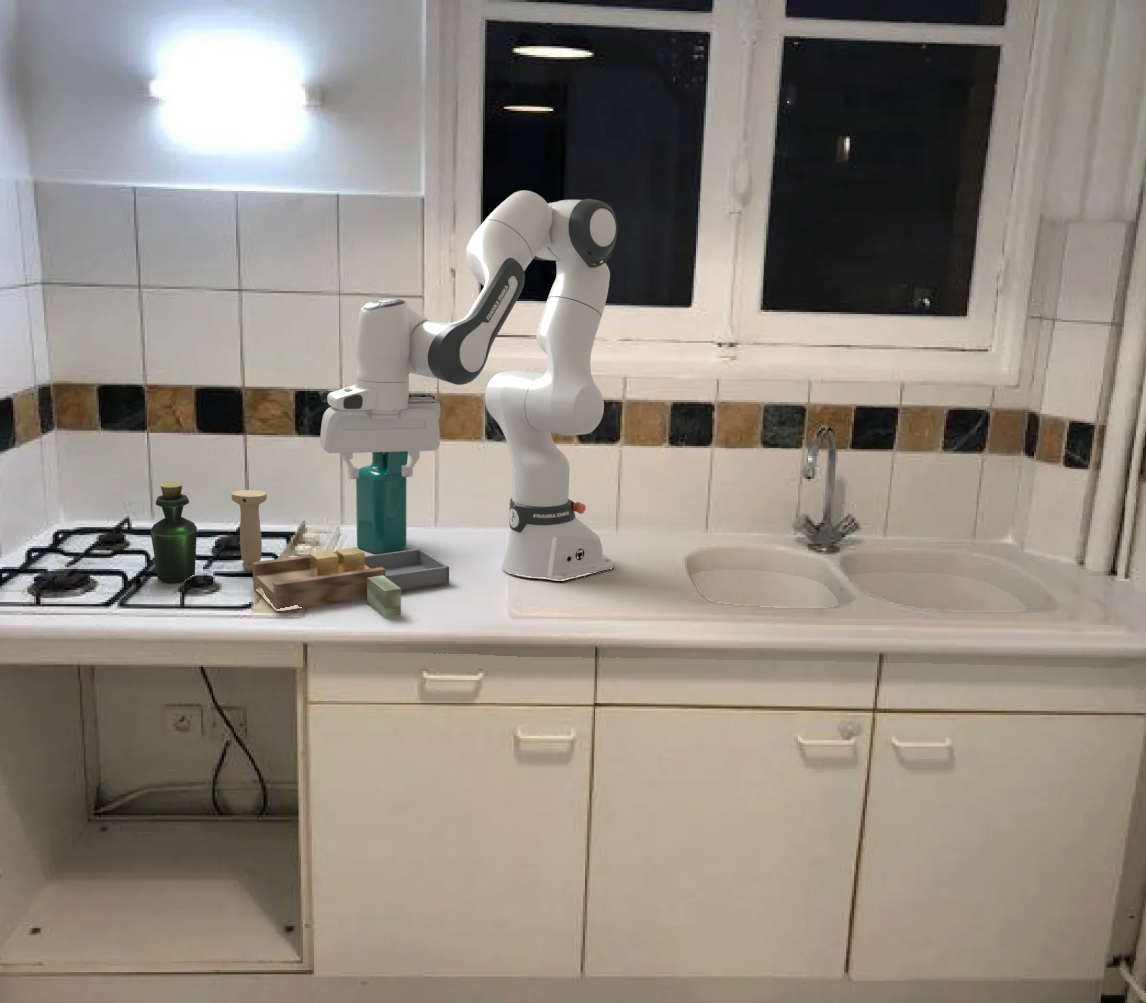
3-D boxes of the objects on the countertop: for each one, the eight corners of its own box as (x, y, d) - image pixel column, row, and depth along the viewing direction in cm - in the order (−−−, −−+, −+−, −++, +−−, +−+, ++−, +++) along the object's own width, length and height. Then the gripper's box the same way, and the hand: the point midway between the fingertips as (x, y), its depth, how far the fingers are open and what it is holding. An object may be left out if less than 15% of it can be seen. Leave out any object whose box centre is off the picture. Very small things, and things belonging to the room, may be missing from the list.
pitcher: (352, 546, 226) (351, 443, 221) (384, 539, 233) (383, 438, 227) (383, 557, 220) (382, 450, 215) (415, 549, 226) (415, 445, 221)
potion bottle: (159, 571, 206) (154, 479, 202) (204, 571, 207) (199, 479, 203) (148, 585, 199) (141, 490, 194) (194, 585, 199) (189, 490, 195)
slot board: (357, 573, 210) (357, 548, 208) (385, 595, 198) (385, 569, 197) (253, 588, 199) (252, 562, 198) (276, 612, 188) (276, 584, 187)
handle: (263, 573, 208) (260, 497, 204) (230, 571, 208) (227, 495, 204) (272, 565, 212) (270, 491, 208) (240, 563, 213) (237, 489, 209)
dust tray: (420, 565, 216) (420, 548, 215) (449, 584, 205) (449, 567, 204) (358, 574, 209) (358, 557, 208) (384, 594, 199) (384, 576, 198)
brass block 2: (356, 567, 204) (356, 547, 203) (364, 573, 200) (364, 552, 199) (336, 570, 202) (335, 549, 201) (343, 576, 198) (343, 555, 197)
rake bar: (383, 601, 195) (383, 575, 194) (400, 615, 189) (400, 588, 188) (367, 604, 194) (367, 577, 193) (384, 618, 187) (384, 591, 186)
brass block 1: (331, 571, 201) (330, 550, 200) (338, 577, 198) (338, 556, 197) (310, 573, 199) (309, 553, 198) (317, 580, 196) (316, 559, 195)
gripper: (434, 394, 190) (432, 471, 193) (317, 394, 181) (317, 475, 184) (447, 399, 185) (444, 478, 188) (327, 399, 176) (326, 483, 179)
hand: (380, 477), depth 186 cm, fingers open, 8 cm apart
